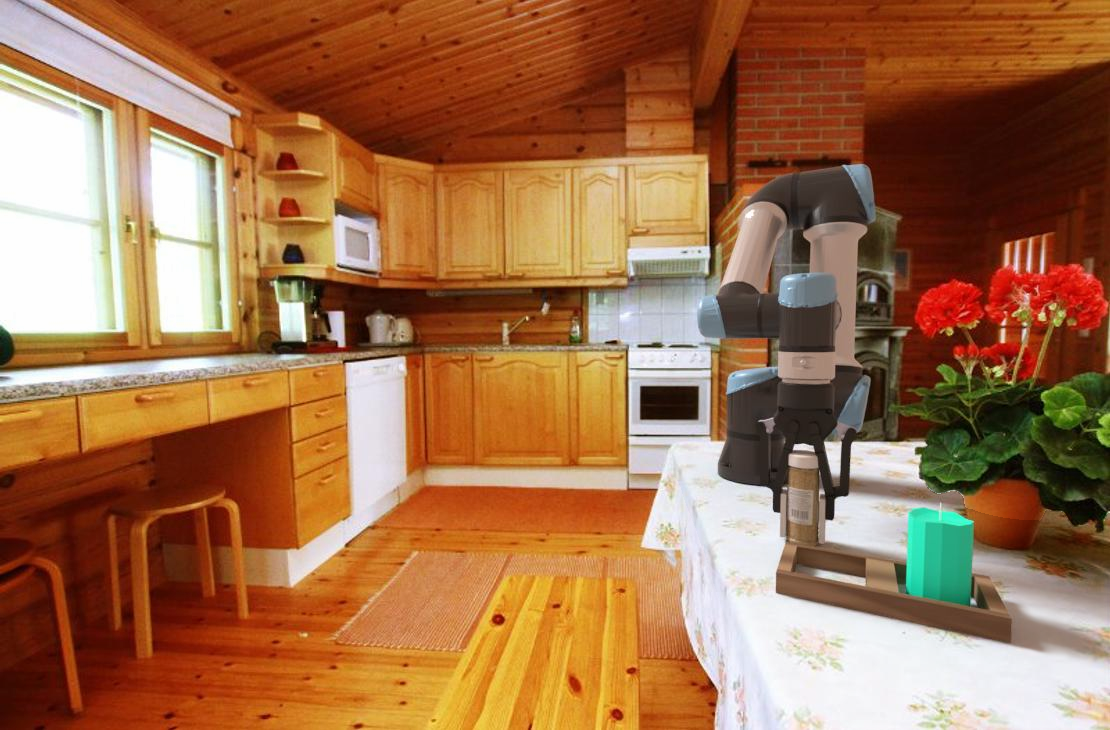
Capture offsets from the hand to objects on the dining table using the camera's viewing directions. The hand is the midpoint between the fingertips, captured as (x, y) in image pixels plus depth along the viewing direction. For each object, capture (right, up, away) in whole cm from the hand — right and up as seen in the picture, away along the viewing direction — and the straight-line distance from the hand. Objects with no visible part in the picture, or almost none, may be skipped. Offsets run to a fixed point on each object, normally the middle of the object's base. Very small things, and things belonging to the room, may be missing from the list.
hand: (802, 536), depth 80 cm
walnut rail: (+2, -2, -16) cm, 16 cm away
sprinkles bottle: (0, -1, 0) cm, 1 cm away
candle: (+7, -2, -19) cm, 20 cm away
